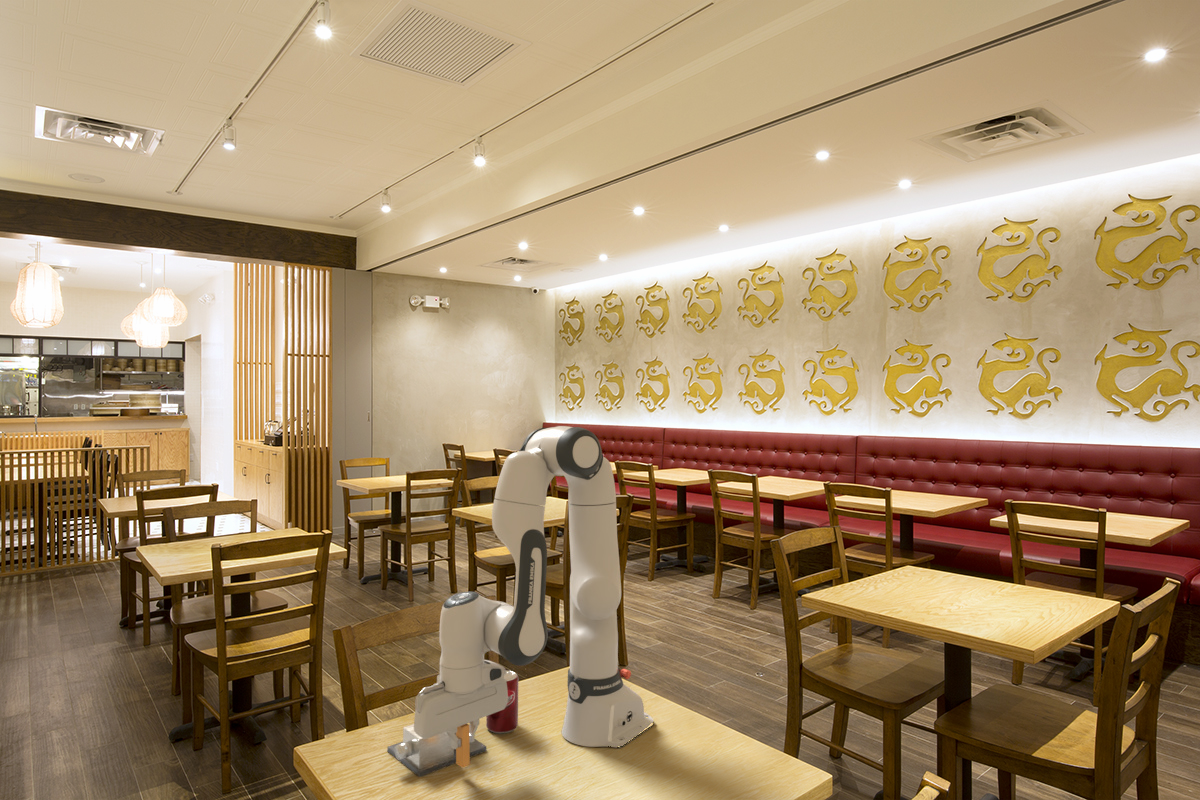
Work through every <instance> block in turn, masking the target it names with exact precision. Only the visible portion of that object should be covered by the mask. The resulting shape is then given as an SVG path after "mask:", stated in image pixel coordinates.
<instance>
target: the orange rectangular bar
mask: <svg viewBox="0 0 1200 800" xmlns="http://www.w3.org/2000/svg"><path fill="white" fill-rule="evenodd" d="M469 724H470V723H467V724H464V725H462V726H459V727H457V732H456V736H458V737H460V738H461V739H462V743H461V744H462V746H461V747H459V748H457V749H456V763H455V765H458V766H459V767H461V768H462V769H463V768H466V767H468V766H470V764H471V763H470V758H471V757H470V744H469Z"/></svg>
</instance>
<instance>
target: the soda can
mask: <svg viewBox="0 0 1200 800" xmlns="http://www.w3.org/2000/svg"><path fill="white" fill-rule="evenodd" d="M503 678H504V679H505V680H506V683H507V692H508V703H507V705H506V707H505V709H504V710H501V711H498V712H496V713H493V714H491V715H488V716H485V718H486V728H487V730H488V731H489V732H490V733H493V734H497V735H501V734H502V735H503V734H508V733H511V732H514V731H515V730H516V729H517V727H518V725H519V676H518V674H517V673H516V672H514V671H511V670H505V676H504V677H503Z"/></svg>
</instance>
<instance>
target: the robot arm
mask: <svg viewBox="0 0 1200 800" xmlns="http://www.w3.org/2000/svg"><path fill="white" fill-rule="evenodd" d="M562 476H564V478H565V481H566V483H567V486H568V496H567V497H568V499H567V500H568V531H569V532H568V535H569V552H570V553H569V554H570V555H569V556H570V557H569V559H570V577H569V640H570V641H569V668H568V670H567V690H568V693H567V701H566V707H565V708H566V710H565V715H564V717H563V725H562V729H561V735H562V737H563V738H564V739H565V740H567V741H568V742H570V743H572V744H575V745H578V746H583V747H589V748H590V747H591V748H592V747H593V748H595V747H596V748H598V747H608V746H609V747H610V746H611V748H617V747H618V746H623V745H624V744H625V743H627V742H628V741H629V740H631V739H632V738H634V737H635V736H637V735H638V734H639V733H640V732H642V731H643V730H644V729H645V728H647V727H648V726H649V725H650V724H651V723H653V721H654V722H655V720H654V718H653V717H652V716H651V715H650V714H648V713H647V712H645V707H644V706H645V705H644V701H643V699H642V697H641V696H640V694H638V693H637V692H636V691H634V690H633V689H631V688H630V687H629V686H627V685H626V684H625V683H624V681H623V678H624V679H625V680H629V679H630V678H631V676H632V671H631V670H629V669H626V668H622V669H620V668H619V666H618V665H619V662H618V659H619V658H618V657H619V656H618V655H619V654H618V653H619V632H618V631H619V630H618V617H617V614H618V613H617V609H618V608H619V605H620V603H621V598H622V583H621V580H622V579H621V578H622V577H621V566H620V554H619V553H620V552H619V542H618V525H617V524H618V523H617V519H618V518H617V495H616V493H617V492H616V485H615V478H614V473H613V468H612V465H611V462H610V460H608V459H607V458H606V457H604V455H603V450H602V446H601V443H600V441H599V438H598V437H597V435H595V433H594V432H593V431H592V432H591V430H589V429H586V428H584V427H580V426H567V425H556V426H551V427H542V428H541V427H540V428H538V429H536V430H533V431H532V432H530V433H529V434H528V435H527V436H526V438H525V439H524V441H523V442H522V446H521V447H520V449H519V450H518V451H515V452H512V453H511V454H509V455H507V457H506V458H505V460H504V462H503V466H502V468H501V471H500V474H499V477H498V481H497V484H496V489H495V493H494V499H493V505H492V509H491V523H492V524H491V527H492V530H493V532H494V534H495V535H496V537H497V538H498V540H499V541H500V542H501V543H502V544H503V545H504V546H505V547H506V548H507V550H508V552H509V553H510V555H511V556H512V557H511V558H513V561H514V564H515V565H514V566H515V583H514V585H515V586H514V599H513V602H514V603H513V605H512V604H509V603H507V602H504V601H500V600H492V599H489V598H486V597H484V596H482V595H481V594H480V593H478V592H476V591H462V592H457V593H455V594H453V595H451V596H449V597H448V598H447V599H445V601H444V603H443V604H442V606H441V609H440V610H441V611H440V619H439V645H440V647H441V652H440V653H441V654H440V657H439V674H440V683H437V682H436V683H434V684H433V685H431V686H425V687H423V688H422V689H421V691H419V692H418V694H417V695H416V696H415V704H414V705H415V706H414V707H415V712H414V720H413V721H414V722H413V724H414V731H415V733H416V734H417V735H419V736H420V737H422V738H423V739H428V738H431V737H433V736H436V735H438V734H441V733H444V732H446V733H447V734H448V736H449V737H450V738H451V747H452V748H453V749H457V748H459V747H461V746H462V744H461V743H462V739H461V738H460V737H458V736H456V735H455V733H456V732H457V727H459V726H462V725H464V724H469V743H472V742H474V740H475V739H476V738H475V736H476V735H475V734H476V732H477V730H478V727H479V725H480V719H483V718H486V716H488V715H491V714H493V713H496V712H498V711H501V710H504V709H505V707H506V705H507V703H508V692H507V683H506V680H505V679H504V678H503V677H504V676H505V671H506V668H505V667H504V666H503V665H501V664H499V663H498V662H494V661H492V660H488V659H485V655H486V653H487V652H491V651H493V652H494V653H496V654H498V655H500V656H502V657H503V659H505V660H506V661H508V662H509V663H510V664H512V665H514V666H519V667H520V666H521V667H522V666H527V665H529V664H531V663H533V662H534V661H535V660H537V659H538V657H540V655H541V654H542V653H543V651H544V650H545V648H546V645H547V641H548V637H549V636H548V635H549V634H548V633H549V632H548V630H549V629H548V626H547V625H548V624H547V621H546V619H547V618H546V609H545V607H546V606H545V604H546V589H547V588H546V586H547V585H546V584H547V571H548V570H547V566H548V548H547V541H546V540H547V539H546V538H545V528H544V527H545V526H544V523H545V522H544V521H545V520H544V519H545V511H546V510H545V509H546V503H547V495H548V488H549V486H550V483H551V482H552V480H553V478H555V477H562ZM646 717H648V718H646ZM637 737H638V736H637ZM634 739H635V738H634ZM631 741H632V740H631ZM628 743H629V742H628ZM628 743H627V744H628ZM624 746H625V745H624ZM624 746H623V747H624ZM609 747H608V748H609Z"/></svg>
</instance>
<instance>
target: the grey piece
mask: <svg viewBox="0 0 1200 800" xmlns="http://www.w3.org/2000/svg"><path fill="white" fill-rule="evenodd" d="M437 683H440V673H439V674H438V675H437V676H436V684H437ZM402 729H403V730H402V732H403V734H402V735H403V736H402V741H401V742H398V743H397V742H396V743H395V744H391V745H389V746H387V752H388V753H389V754H390V755H391V754H392V755H391V756H392V757H394V758H395V759H396V760H398V761H399V762H400V763H401V764H403V766H405V767H406V768H408V769H409V770H410V771H411V772H413V773H414V774H415V775H416V776H418V778H419V777H423V776H425V775H428V774H431V773H434V772H436V771H439V770H441V769H444V768H447V767H449V766H451V765H454V764H456V749H453V748H452V747H451V738H450V737H449V736H448V734H447V733H446V732H444V733H441V734H438V735H436V736H433V737H431V738H428V739H423V738H422V737H420V736H419V735H417V734H416V733H415V731H414V723H413V724H412V723H411V724H409V725H406V726H403V728H402ZM455 735H456V733H455ZM469 744H470V758H473V757H475V756H478V755H481V754H482V753H485V752H487V750H488V749H487V745H485V744H484V743H482V742H481V741H479V740H477V739H476V738H475V740H474V742H472V743H469Z"/></svg>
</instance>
